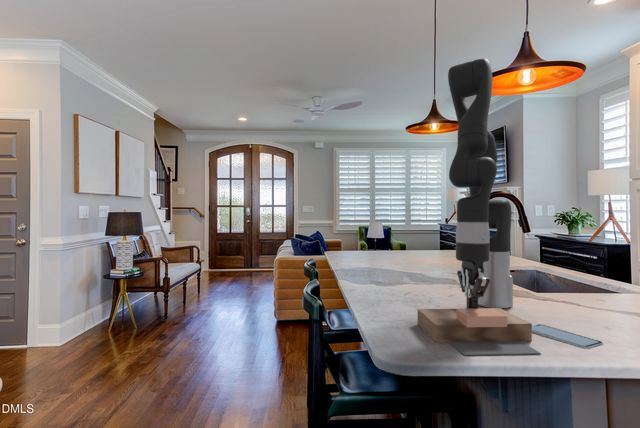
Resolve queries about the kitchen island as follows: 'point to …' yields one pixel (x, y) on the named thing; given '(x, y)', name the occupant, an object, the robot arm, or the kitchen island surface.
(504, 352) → the rubber mat
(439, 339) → the block
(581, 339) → the smartphone
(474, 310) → the terracotta tile
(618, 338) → the kitchen island surface
